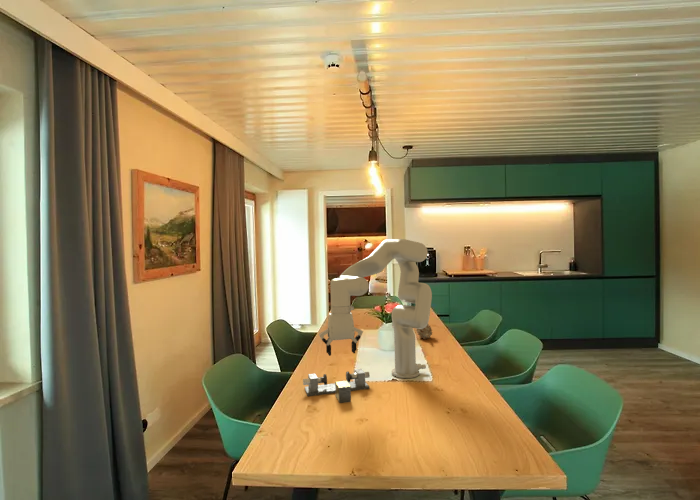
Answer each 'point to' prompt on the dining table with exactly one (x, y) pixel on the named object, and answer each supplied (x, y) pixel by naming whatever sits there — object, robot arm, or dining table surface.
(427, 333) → the pine cone
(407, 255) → the robot arm
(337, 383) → the two-tone brushed block
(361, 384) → the shaft stand
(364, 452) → the dining table surface
